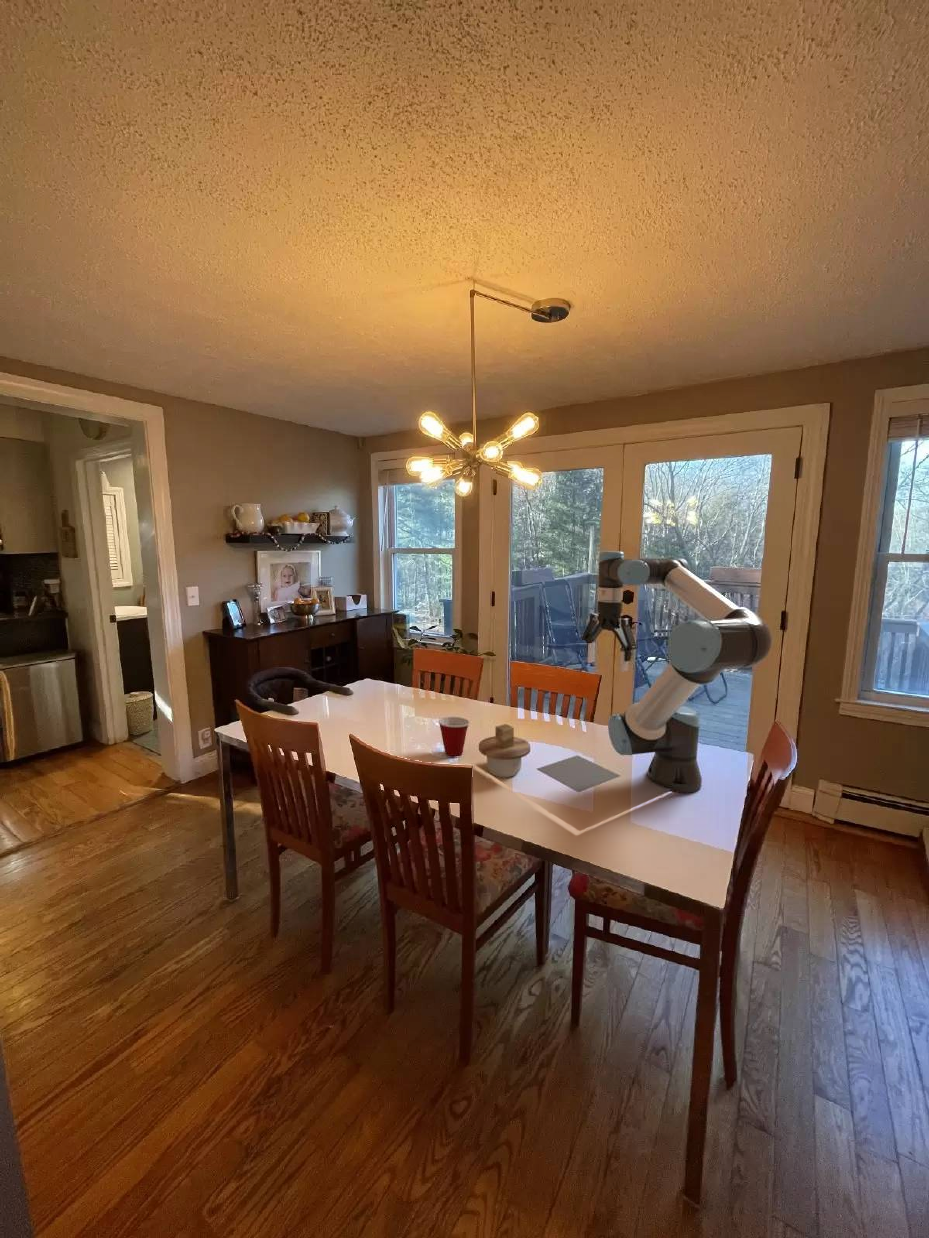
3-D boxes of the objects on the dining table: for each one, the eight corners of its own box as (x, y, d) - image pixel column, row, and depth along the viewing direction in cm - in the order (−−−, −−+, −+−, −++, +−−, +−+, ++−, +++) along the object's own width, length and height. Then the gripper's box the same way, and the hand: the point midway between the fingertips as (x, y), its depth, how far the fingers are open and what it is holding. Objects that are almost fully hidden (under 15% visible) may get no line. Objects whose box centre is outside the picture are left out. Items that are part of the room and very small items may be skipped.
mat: (620, 778, 157) (620, 775, 157) (578, 795, 147) (578, 791, 147) (577, 758, 172) (577, 755, 172) (536, 771, 162) (536, 768, 162)
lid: (541, 751, 158) (541, 729, 157) (500, 764, 149) (500, 741, 148) (508, 735, 171) (508, 714, 170) (468, 746, 162) (468, 724, 161)
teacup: (519, 783, 154) (519, 758, 153) (483, 780, 156) (483, 755, 155) (523, 764, 168) (523, 740, 166) (490, 761, 170) (490, 738, 169)
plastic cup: (476, 753, 176) (476, 719, 174) (454, 763, 168) (454, 728, 166) (454, 744, 183) (453, 712, 181) (431, 754, 176) (431, 720, 174)
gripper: (572, 597, 170) (570, 660, 173) (634, 605, 149) (631, 676, 153) (588, 596, 174) (586, 657, 177) (651, 604, 154) (647, 673, 157)
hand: (607, 666), depth 165 cm, fingers open, 13 cm apart
